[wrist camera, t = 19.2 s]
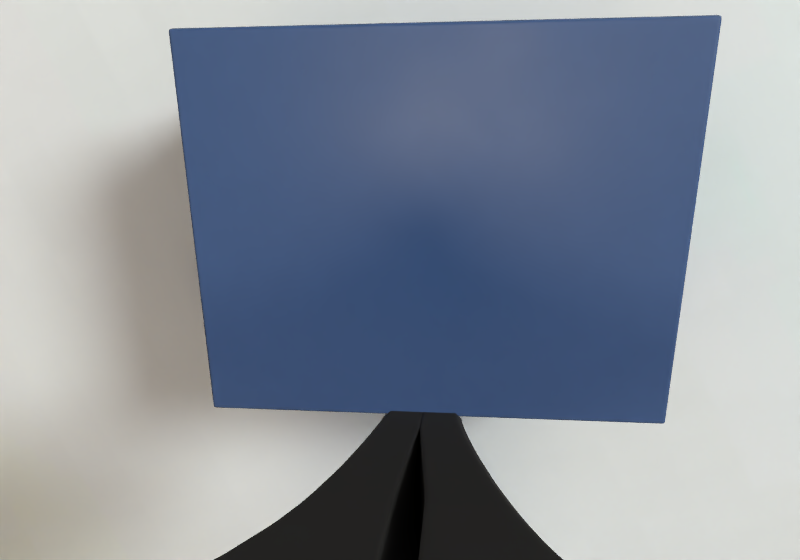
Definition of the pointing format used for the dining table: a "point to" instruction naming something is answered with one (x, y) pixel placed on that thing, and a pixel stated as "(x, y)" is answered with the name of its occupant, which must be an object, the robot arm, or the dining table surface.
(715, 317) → the dining table surface
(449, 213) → the case lid
